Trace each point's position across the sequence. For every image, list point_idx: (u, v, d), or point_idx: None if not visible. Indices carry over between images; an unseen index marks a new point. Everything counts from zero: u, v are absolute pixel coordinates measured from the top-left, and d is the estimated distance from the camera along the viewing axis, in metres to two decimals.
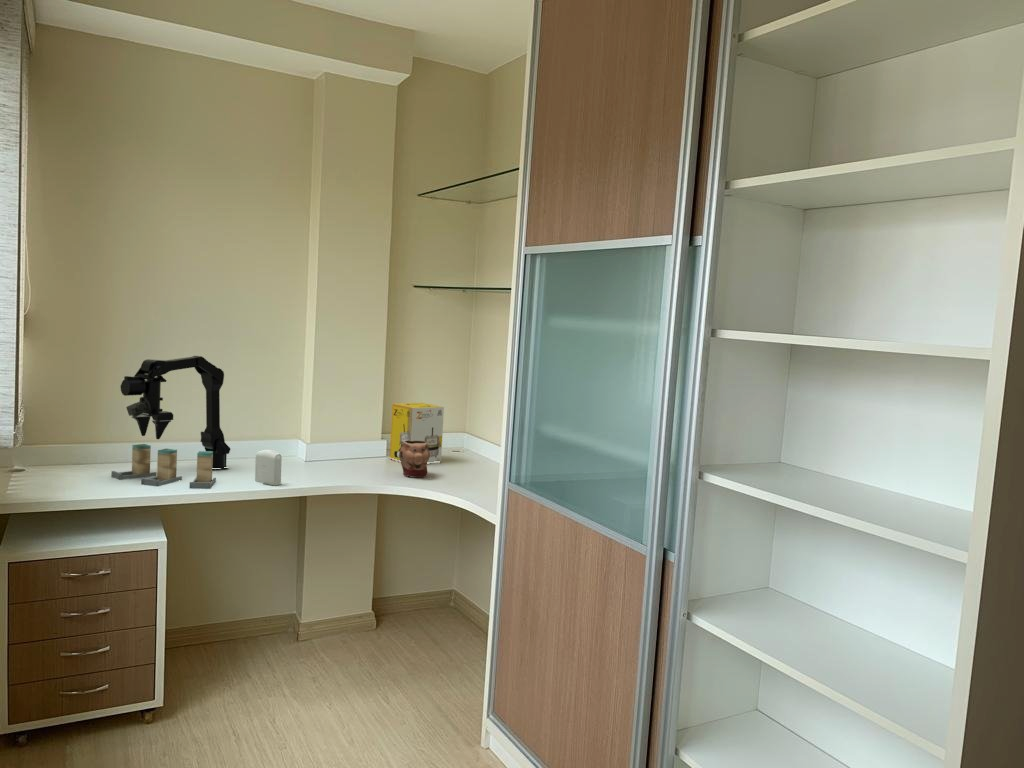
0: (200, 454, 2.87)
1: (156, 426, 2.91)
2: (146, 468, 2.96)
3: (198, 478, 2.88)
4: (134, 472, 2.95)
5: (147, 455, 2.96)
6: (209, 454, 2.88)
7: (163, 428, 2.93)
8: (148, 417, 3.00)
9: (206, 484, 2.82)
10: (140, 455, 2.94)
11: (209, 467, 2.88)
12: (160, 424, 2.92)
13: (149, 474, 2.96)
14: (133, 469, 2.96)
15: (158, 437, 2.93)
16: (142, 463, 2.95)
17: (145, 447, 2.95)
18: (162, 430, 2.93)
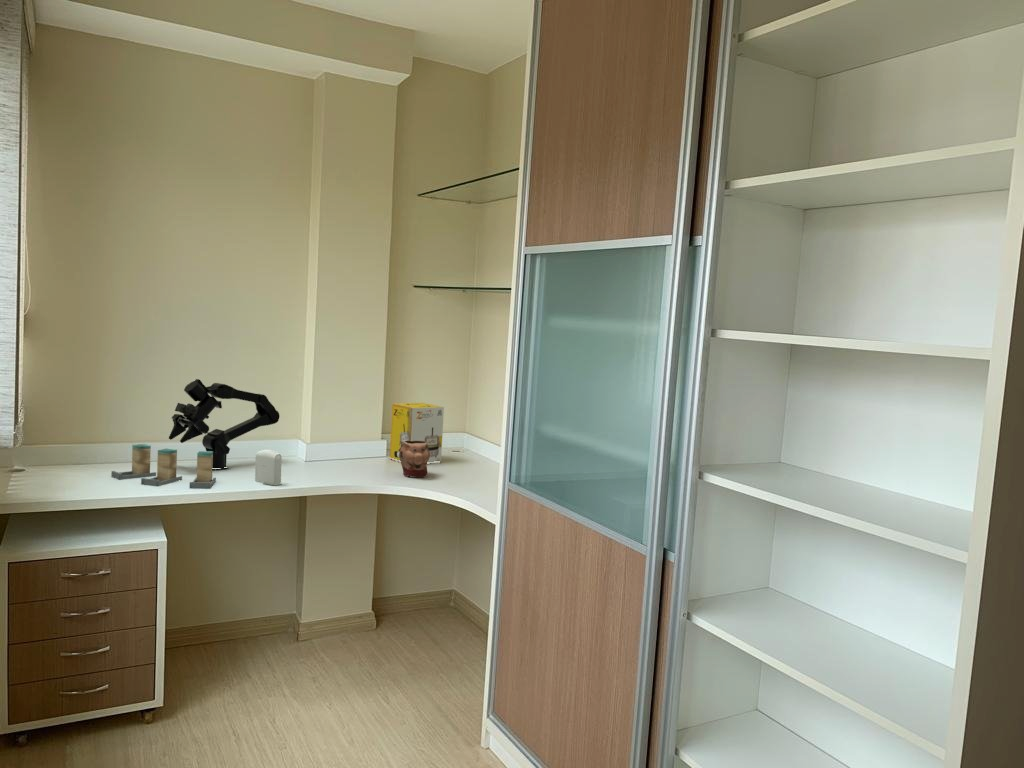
0: (200, 454, 2.87)
1: (188, 430, 3.04)
2: (146, 468, 2.96)
3: (198, 478, 2.88)
4: (134, 472, 2.95)
5: (147, 455, 2.96)
6: (209, 454, 2.88)
7: (191, 436, 3.05)
8: (184, 429, 3.13)
9: (206, 484, 2.82)
10: (140, 455, 2.94)
11: (209, 467, 2.88)
12: (192, 431, 3.05)
13: (149, 474, 2.96)
14: (133, 469, 2.96)
15: (182, 440, 3.03)
16: (142, 463, 2.95)
17: (145, 447, 2.95)
18: (189, 437, 3.04)
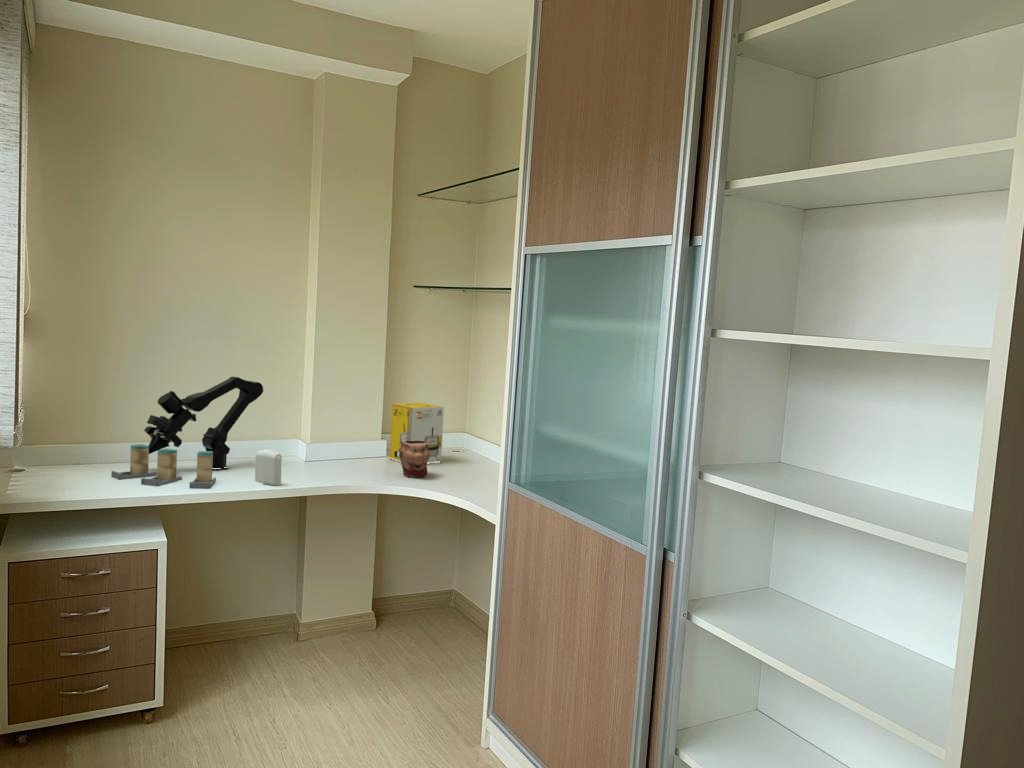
0: (200, 454, 2.87)
1: (155, 441, 2.99)
2: (145, 469, 2.96)
3: (198, 478, 2.88)
4: (132, 472, 2.95)
5: (145, 455, 2.95)
6: (209, 454, 2.88)
7: (158, 448, 3.00)
8: None
9: (206, 484, 2.82)
10: (138, 455, 2.93)
11: (209, 467, 2.88)
12: (159, 443, 3.00)
13: (149, 474, 2.96)
14: (131, 469, 2.95)
15: None
16: (141, 463, 2.94)
17: (143, 447, 2.95)
18: (156, 449, 2.99)
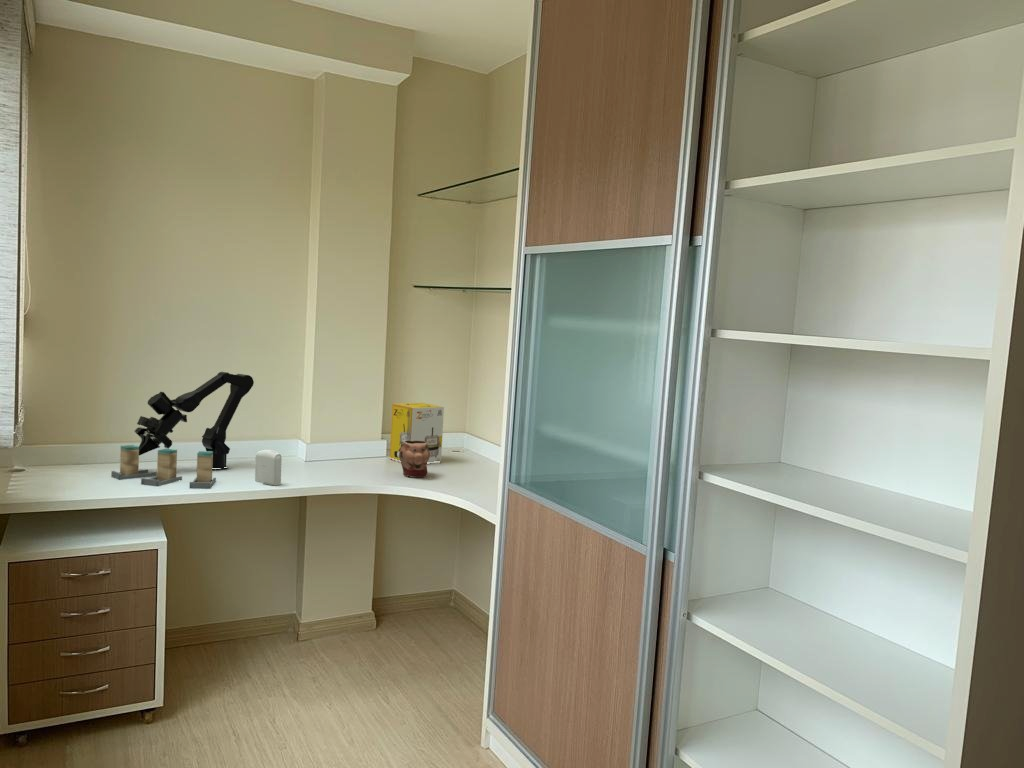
0: (200, 454, 2.87)
1: (145, 442, 2.96)
2: (135, 470, 2.93)
3: (198, 478, 2.88)
4: (122, 473, 2.92)
5: (135, 456, 2.93)
6: (209, 454, 2.88)
7: (148, 449, 2.97)
8: None
9: (206, 484, 2.82)
10: (128, 456, 2.91)
11: (209, 467, 2.88)
12: (149, 444, 2.97)
13: (149, 474, 2.96)
14: (121, 470, 2.93)
15: None
16: (131, 464, 2.92)
17: (133, 448, 2.92)
18: (146, 450, 2.96)
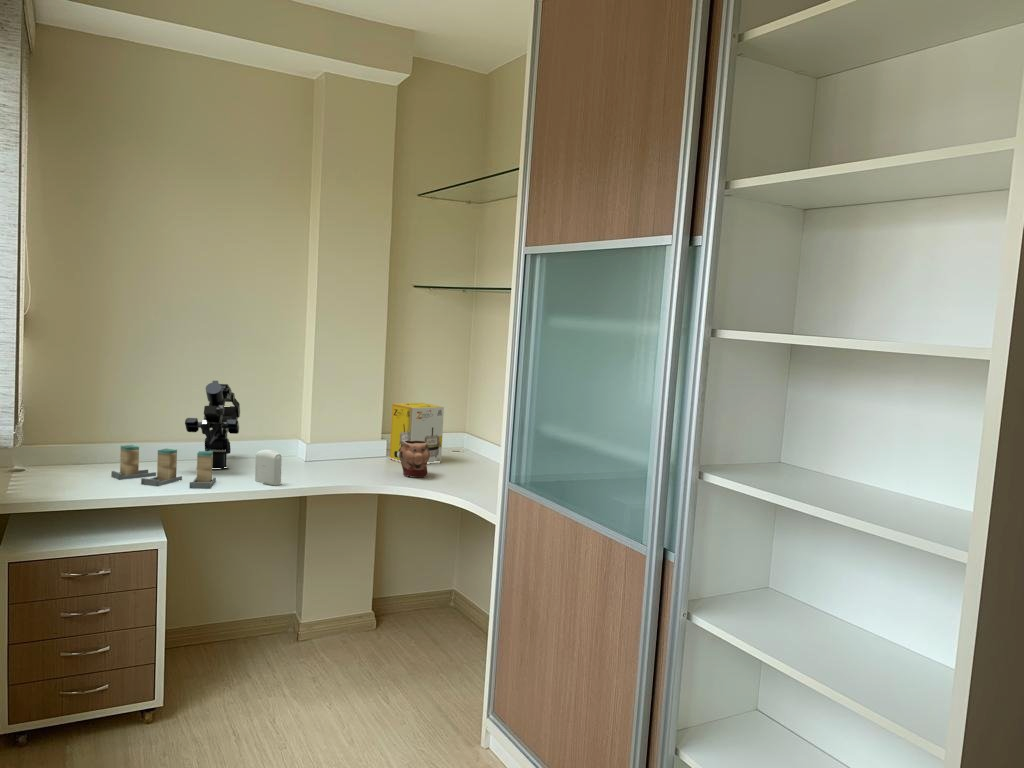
0: (200, 454, 2.87)
1: (214, 431, 3.04)
2: (135, 470, 2.93)
3: (198, 478, 2.88)
4: (122, 473, 2.92)
5: (135, 456, 2.93)
6: (209, 454, 2.88)
7: (215, 437, 3.06)
8: (210, 433, 3.07)
9: (206, 484, 2.82)
10: (128, 456, 2.91)
11: (209, 467, 2.88)
12: None
13: (149, 474, 2.96)
14: (121, 470, 2.93)
15: (210, 442, 3.02)
16: (131, 464, 2.92)
17: (133, 448, 2.92)
18: (214, 438, 3.05)
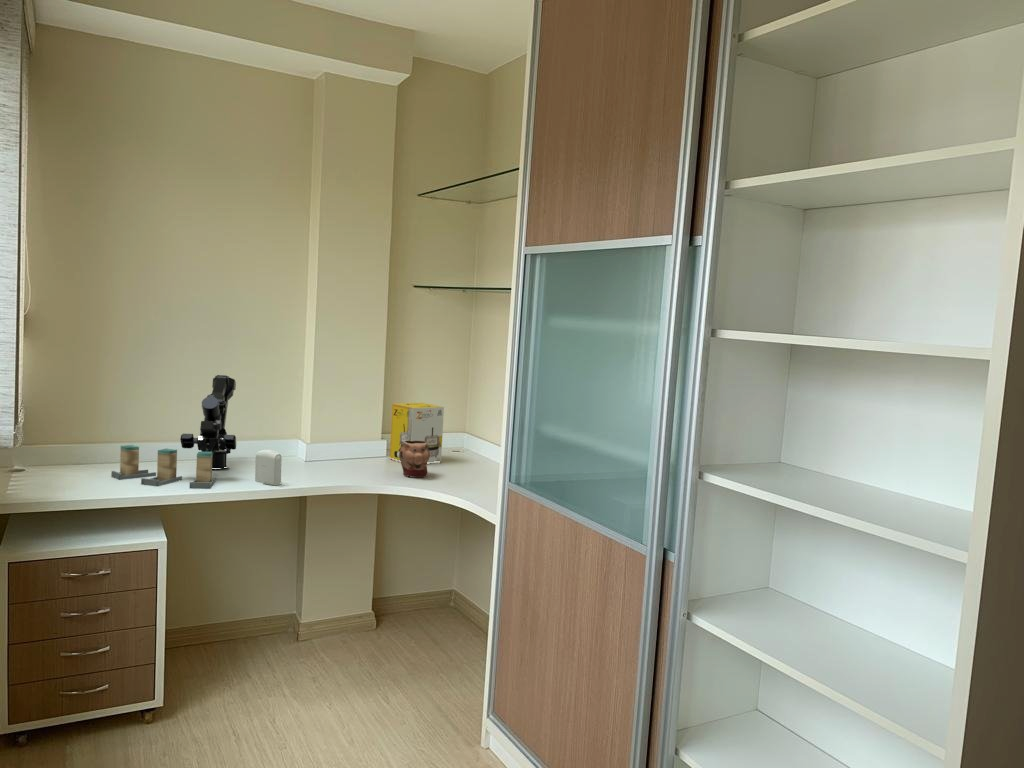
0: (200, 454, 2.86)
1: (210, 447, 2.94)
2: (135, 470, 2.93)
3: (197, 479, 2.87)
4: (122, 473, 2.92)
5: (135, 456, 2.93)
6: (209, 454, 2.87)
7: None
8: (206, 449, 2.97)
9: (206, 484, 2.82)
10: (128, 456, 2.91)
11: (209, 468, 2.87)
12: (211, 448, 2.95)
13: (149, 474, 2.96)
14: (121, 470, 2.93)
15: None
16: (131, 464, 2.92)
17: (133, 448, 2.92)
18: None
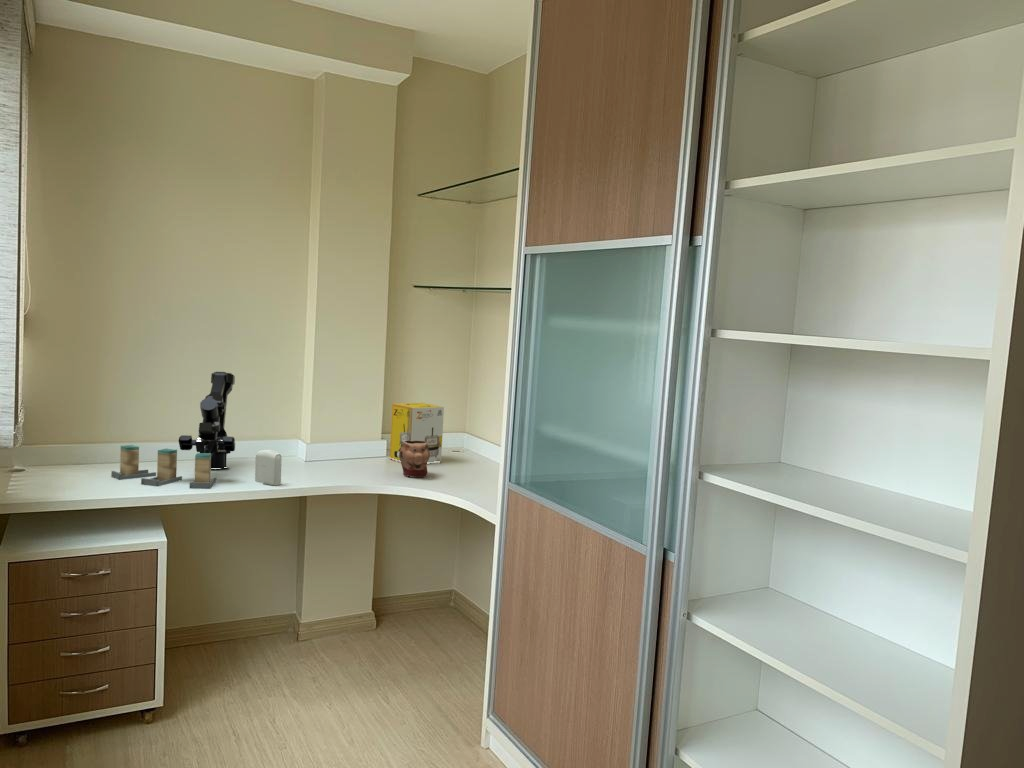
0: (198, 456, 2.83)
1: (209, 449, 2.91)
2: (135, 470, 2.93)
3: (196, 480, 2.84)
4: (122, 473, 2.92)
5: (135, 456, 2.93)
6: (207, 456, 2.84)
7: None
8: None
9: (206, 484, 2.82)
10: (128, 456, 2.91)
11: (207, 469, 2.84)
12: None
13: (149, 474, 2.96)
14: (121, 470, 2.93)
15: None
16: (131, 464, 2.92)
17: (133, 448, 2.92)
18: None
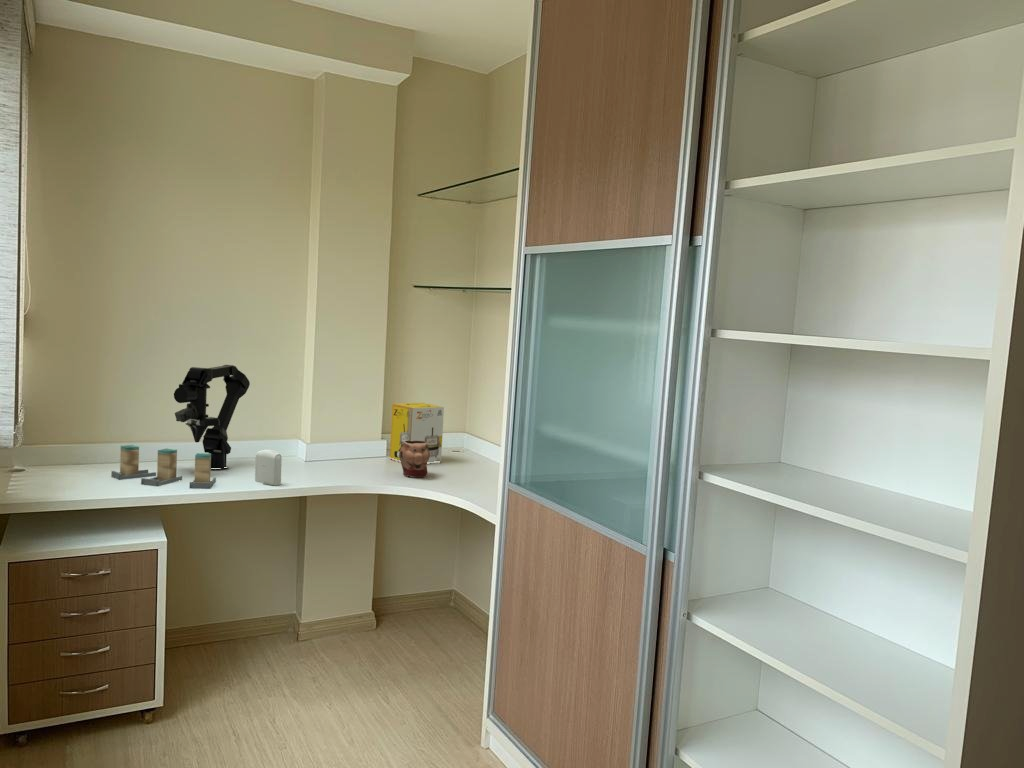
0: (198, 456, 2.83)
1: (196, 430, 3.05)
2: (135, 470, 2.93)
3: (196, 480, 2.84)
4: (122, 473, 2.92)
5: (135, 456, 2.93)
6: (207, 456, 2.84)
7: (202, 432, 3.07)
8: None
9: (206, 484, 2.82)
10: (128, 456, 2.91)
11: (207, 469, 2.84)
12: (199, 428, 3.06)
13: (149, 474, 2.96)
14: (121, 470, 2.93)
15: (197, 440, 3.06)
16: (131, 464, 2.92)
17: (133, 448, 2.92)
18: (201, 434, 3.07)
